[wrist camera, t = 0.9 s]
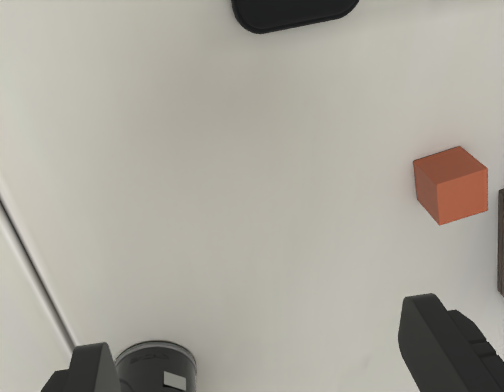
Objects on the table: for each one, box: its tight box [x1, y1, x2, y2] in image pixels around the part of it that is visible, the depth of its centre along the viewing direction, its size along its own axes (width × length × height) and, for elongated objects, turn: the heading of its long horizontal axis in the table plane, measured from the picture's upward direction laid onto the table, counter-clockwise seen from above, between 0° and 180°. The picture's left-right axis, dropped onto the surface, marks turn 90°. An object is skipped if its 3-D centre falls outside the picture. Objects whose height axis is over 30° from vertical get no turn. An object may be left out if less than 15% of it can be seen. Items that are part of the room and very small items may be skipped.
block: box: [413, 146, 488, 225], centre depth 43 cm, size 5×5×5 cm
